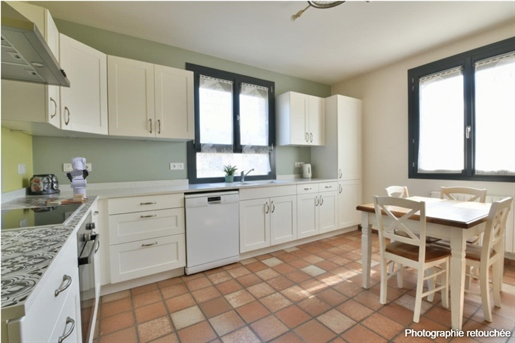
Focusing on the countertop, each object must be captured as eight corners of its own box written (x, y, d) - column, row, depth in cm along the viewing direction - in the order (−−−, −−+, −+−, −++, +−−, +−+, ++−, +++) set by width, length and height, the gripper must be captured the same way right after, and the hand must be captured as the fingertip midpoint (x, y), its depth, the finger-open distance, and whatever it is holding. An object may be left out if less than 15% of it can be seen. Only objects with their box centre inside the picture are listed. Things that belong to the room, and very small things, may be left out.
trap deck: (55, 202, 168) (55, 197, 168) (88, 200, 176) (88, 195, 176) (45, 206, 154) (44, 201, 154) (81, 204, 161) (81, 199, 161)
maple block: (76, 199, 169) (75, 194, 168) (84, 199, 171) (84, 193, 170) (73, 200, 164) (73, 195, 164) (82, 200, 166) (82, 194, 166)
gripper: (63, 166, 166) (62, 178, 158) (87, 162, 173) (88, 172, 164) (67, 174, 171) (66, 185, 162) (90, 169, 177) (91, 180, 169)
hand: (77, 179), depth 163 cm, fingers open, 7 cm apart
